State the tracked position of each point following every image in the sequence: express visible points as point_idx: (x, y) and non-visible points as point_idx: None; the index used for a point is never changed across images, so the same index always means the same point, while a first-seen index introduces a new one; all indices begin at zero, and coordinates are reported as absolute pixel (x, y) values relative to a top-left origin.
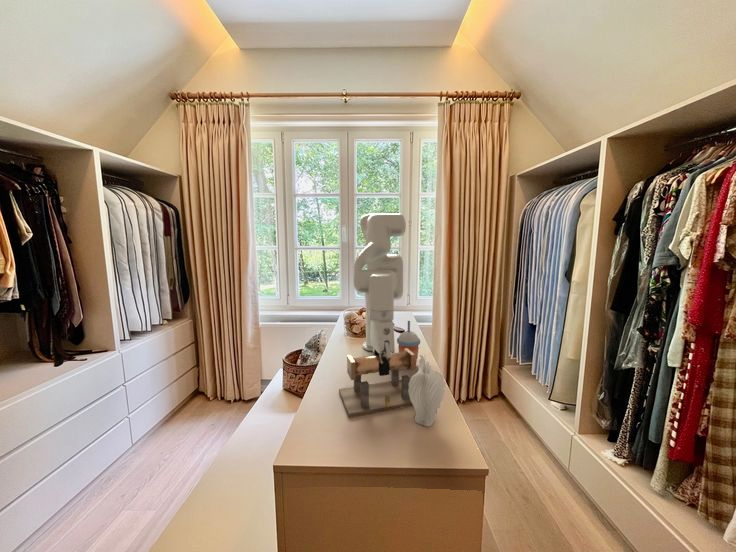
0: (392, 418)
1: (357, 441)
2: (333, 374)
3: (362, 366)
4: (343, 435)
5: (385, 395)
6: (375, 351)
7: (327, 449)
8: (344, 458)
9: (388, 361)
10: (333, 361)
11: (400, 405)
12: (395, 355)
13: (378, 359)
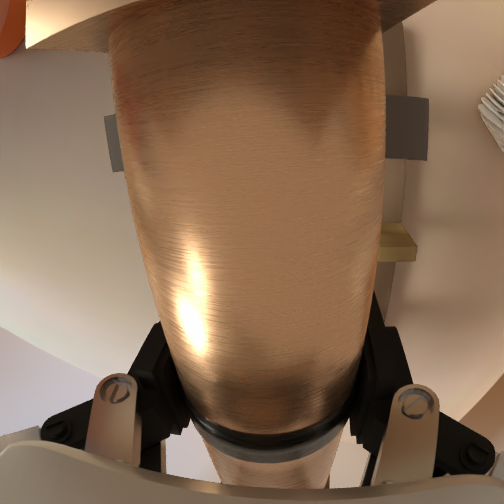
0: (447, 226)
1: (472, 350)
2: (76, 339)
3: (326, 481)
4: (433, 375)
5: (383, 258)
6: (162, 460)
7: (450, 400)
8: (491, 374)
9: (458, 428)
10: (4, 312)
11: (404, 164)
12: (299, 304)
13: (315, 455)
